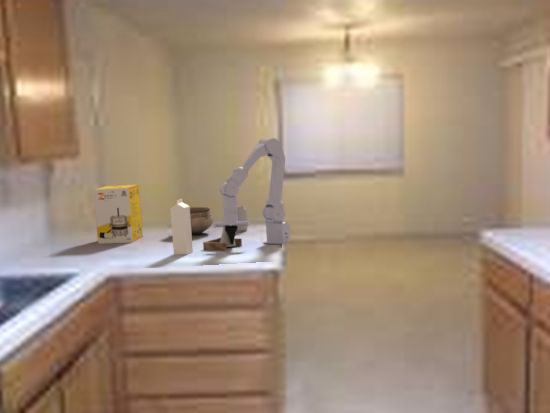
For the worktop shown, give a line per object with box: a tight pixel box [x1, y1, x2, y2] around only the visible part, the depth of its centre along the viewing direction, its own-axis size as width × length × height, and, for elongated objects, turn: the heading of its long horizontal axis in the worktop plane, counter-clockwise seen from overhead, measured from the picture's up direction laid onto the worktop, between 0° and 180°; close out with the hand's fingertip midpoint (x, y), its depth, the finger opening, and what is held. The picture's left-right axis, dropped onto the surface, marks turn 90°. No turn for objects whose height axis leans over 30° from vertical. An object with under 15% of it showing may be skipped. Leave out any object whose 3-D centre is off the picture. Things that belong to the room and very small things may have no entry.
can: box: [236, 205, 249, 233], centre depth 339 cm, size 8×8×12 cm
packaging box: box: [93, 184, 144, 245], centre depth 330 cm, size 16×16×25 cm
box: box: [202, 237, 243, 252], centre depth 295 cm, size 11×12×3 cm
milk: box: [170, 198, 194, 256], centre depth 285 cm, size 6×6×22 cm
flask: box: [219, 225, 237, 248], centre depth 295 cm, size 7×7×10 cm
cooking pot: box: [190, 206, 214, 236], centre depth 336 cm, size 25×19×12 cm
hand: (232, 244), depth 292 cm, fingers closed
